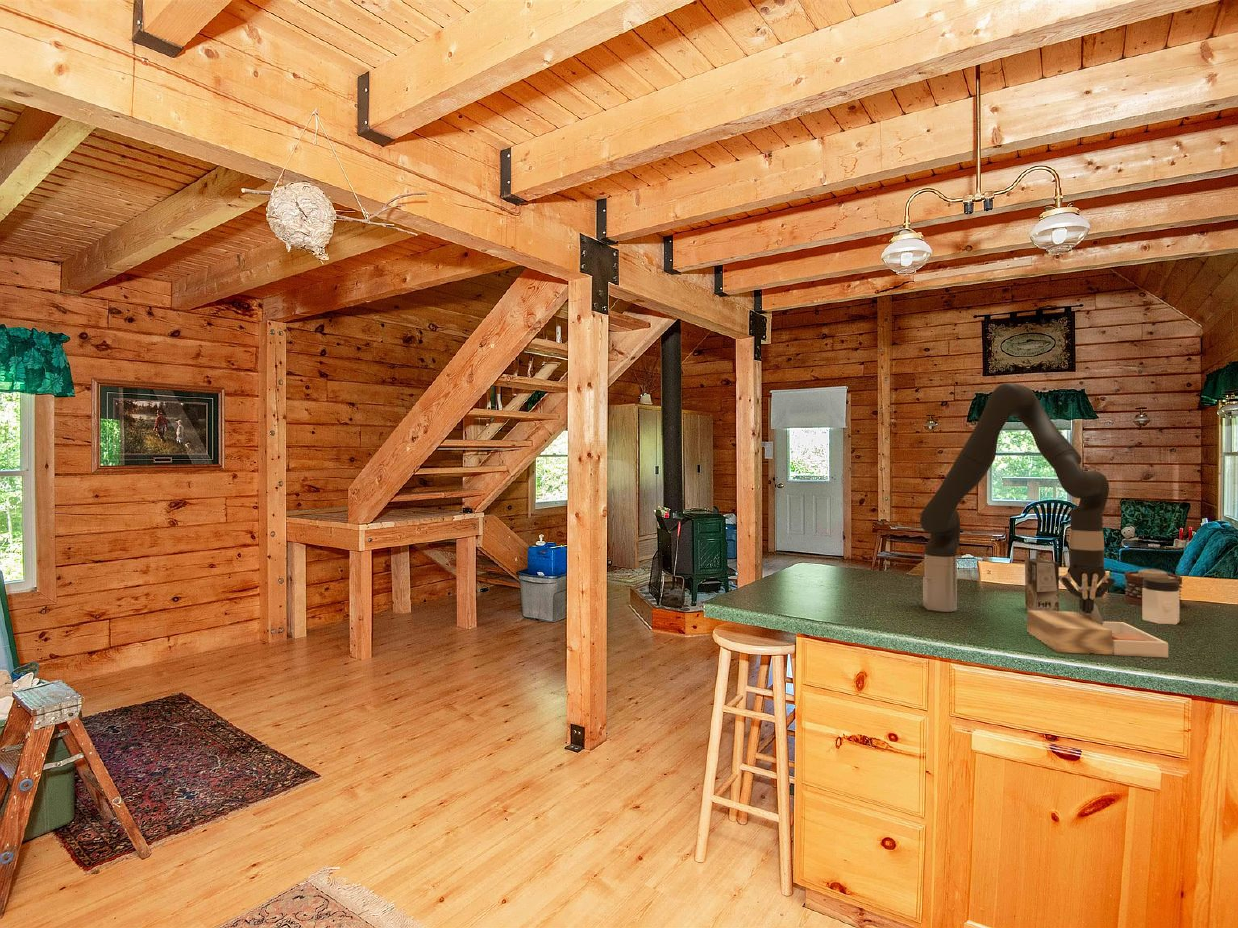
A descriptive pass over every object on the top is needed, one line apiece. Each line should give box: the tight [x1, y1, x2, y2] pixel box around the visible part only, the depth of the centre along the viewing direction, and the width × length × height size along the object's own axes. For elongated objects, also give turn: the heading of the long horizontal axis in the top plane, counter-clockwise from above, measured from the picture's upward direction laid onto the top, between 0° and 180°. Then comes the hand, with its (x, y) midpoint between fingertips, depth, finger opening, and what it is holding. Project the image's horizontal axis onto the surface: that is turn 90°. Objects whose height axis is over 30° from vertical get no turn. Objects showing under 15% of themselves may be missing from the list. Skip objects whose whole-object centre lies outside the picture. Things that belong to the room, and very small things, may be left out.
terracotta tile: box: [1112, 633, 1145, 641], centre depth 168 cm, size 6×6×2 cm
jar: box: [1141, 578, 1180, 626], centre depth 194 cm, size 9×8×12 cm
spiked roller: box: [1124, 568, 1184, 609], centre depth 215 cm, size 15×11×15 cm
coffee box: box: [1024, 558, 1060, 611], centre depth 206 cm, size 9×6×16 cm
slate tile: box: [1079, 603, 1104, 625], centre depth 177 cm, size 6×6×2 cm
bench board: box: [1026, 609, 1113, 655], centre depth 173 cm, size 12×19×6 cm, turn 168°
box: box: [1103, 621, 1169, 659], centre depth 171 cm, size 11×20×4 cm, turn 168°
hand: (1086, 612), depth 175 cm, fingers closed
